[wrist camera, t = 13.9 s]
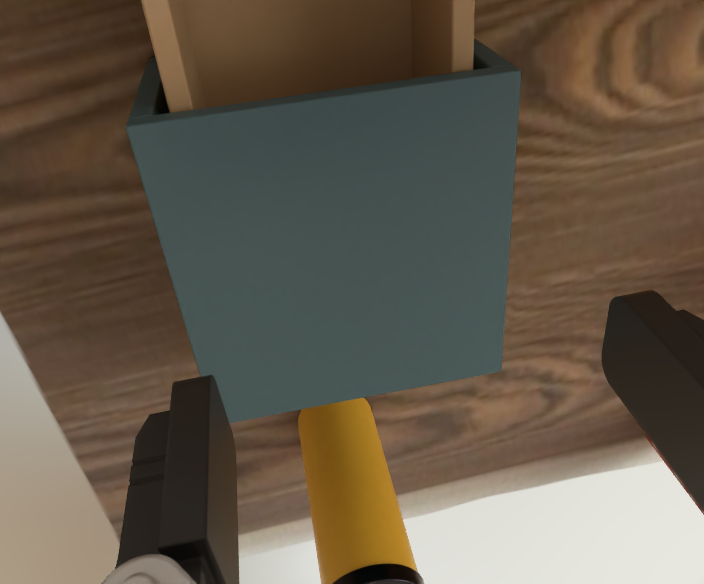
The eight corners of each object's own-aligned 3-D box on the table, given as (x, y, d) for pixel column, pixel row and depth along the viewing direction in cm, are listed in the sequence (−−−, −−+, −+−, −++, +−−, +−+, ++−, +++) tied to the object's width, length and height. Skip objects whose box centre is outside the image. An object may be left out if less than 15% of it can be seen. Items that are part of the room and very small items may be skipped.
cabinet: (148, 57, 27) (124, 126, 20) (445, 17, 28) (522, 69, 21) (214, 312, 35) (214, 426, 28) (446, 272, 36) (502, 372, 29)
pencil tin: (289, 396, 39) (318, 594, 29) (370, 381, 40) (427, 570, 29) (300, 451, 42) (329, 650, 32) (375, 436, 43) (429, 627, 32)
